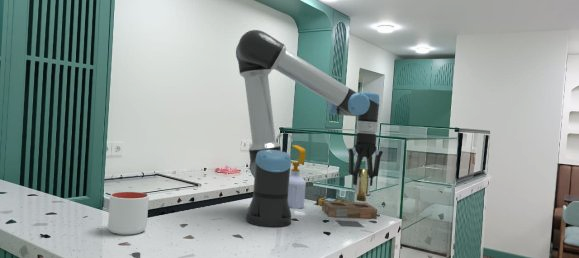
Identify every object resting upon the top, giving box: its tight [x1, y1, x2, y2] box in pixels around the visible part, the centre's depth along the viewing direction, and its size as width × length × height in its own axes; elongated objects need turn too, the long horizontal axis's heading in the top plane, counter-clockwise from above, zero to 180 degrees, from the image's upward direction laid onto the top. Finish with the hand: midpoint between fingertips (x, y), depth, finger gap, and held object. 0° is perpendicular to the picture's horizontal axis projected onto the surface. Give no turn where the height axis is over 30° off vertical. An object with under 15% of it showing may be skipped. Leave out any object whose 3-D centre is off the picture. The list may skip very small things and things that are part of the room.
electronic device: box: [315, 196, 350, 207], centre depth 171 cm, size 8×16×3 cm, turn 59°
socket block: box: [321, 201, 378, 220], centre depth 157 cm, size 12×18×4 cm
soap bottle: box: [288, 144, 307, 210], centre depth 165 cm, size 9×9×25 cm
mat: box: [335, 219, 365, 228], centre depth 142 cm, size 8×8×1 cm
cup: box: [107, 191, 150, 236], centre depth 114 cm, size 10×10×10 cm
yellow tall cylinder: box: [356, 168, 369, 202], centre depth 157 cm, size 4×4×12 cm
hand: (361, 193), depth 158 cm, fingers closed on yellow tall cylinder, 3 cm apart
